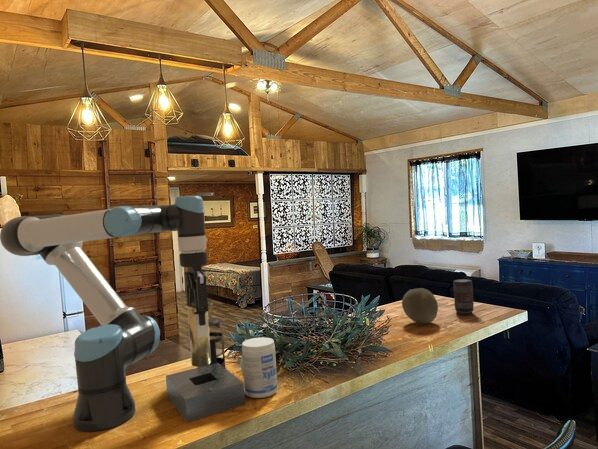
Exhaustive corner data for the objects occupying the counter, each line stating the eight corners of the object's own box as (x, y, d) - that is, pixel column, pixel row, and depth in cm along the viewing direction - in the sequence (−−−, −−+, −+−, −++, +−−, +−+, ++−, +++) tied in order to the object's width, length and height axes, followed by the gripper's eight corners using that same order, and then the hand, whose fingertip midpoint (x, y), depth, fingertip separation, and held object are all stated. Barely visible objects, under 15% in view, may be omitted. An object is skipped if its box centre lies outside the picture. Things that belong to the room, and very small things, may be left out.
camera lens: (475, 312, 194) (474, 279, 194) (472, 316, 188) (470, 282, 187) (457, 310, 199) (455, 278, 198) (452, 315, 192) (451, 281, 191)
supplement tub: (270, 400, 119) (266, 348, 118) (239, 398, 122) (235, 346, 121) (282, 386, 128) (279, 337, 127) (253, 384, 131) (249, 336, 130)
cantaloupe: (425, 317, 191) (423, 284, 190) (445, 325, 178) (443, 289, 177) (397, 322, 187) (395, 287, 186) (416, 330, 173) (414, 293, 173)
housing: (186, 422, 109) (185, 399, 109) (167, 395, 127) (165, 375, 126) (245, 404, 117) (243, 382, 117) (219, 381, 135) (217, 362, 134)
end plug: (194, 368, 118) (189, 305, 117) (189, 362, 123) (184, 302, 122) (213, 363, 121) (209, 302, 120) (207, 358, 125) (203, 299, 125)
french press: (230, 373, 140) (224, 303, 140) (201, 380, 136) (195, 308, 136) (220, 363, 151) (215, 297, 150) (193, 369, 147) (188, 302, 146)
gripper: (216, 252, 114) (222, 338, 115) (197, 248, 130) (202, 324, 131) (188, 255, 111) (194, 344, 111) (171, 250, 127) (177, 329, 128)
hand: (199, 333), depth 121 cm, fingers closed on end plug, 5 cm apart
